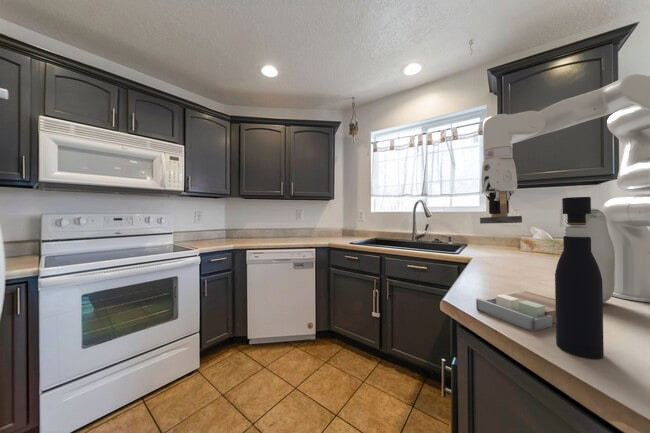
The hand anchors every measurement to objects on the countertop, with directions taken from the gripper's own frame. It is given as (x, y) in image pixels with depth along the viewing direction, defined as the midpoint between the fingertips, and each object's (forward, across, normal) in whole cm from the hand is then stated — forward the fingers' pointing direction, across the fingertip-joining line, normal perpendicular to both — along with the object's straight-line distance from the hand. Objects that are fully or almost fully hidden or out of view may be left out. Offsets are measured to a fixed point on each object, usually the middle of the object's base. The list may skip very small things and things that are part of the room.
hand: (498, 213), depth 76 cm
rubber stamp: (+3, 0, 0) cm, 3 cm away
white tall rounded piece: (+27, +20, -12) cm, 36 cm away
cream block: (+25, -9, -9) cm, 28 cm away
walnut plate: (+27, -2, -11) cm, 29 cm away
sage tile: (+25, -8, -14) cm, 30 cm away
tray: (+27, -12, -11) cm, 31 cm away
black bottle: (+27, -15, -26) cm, 40 cm away
